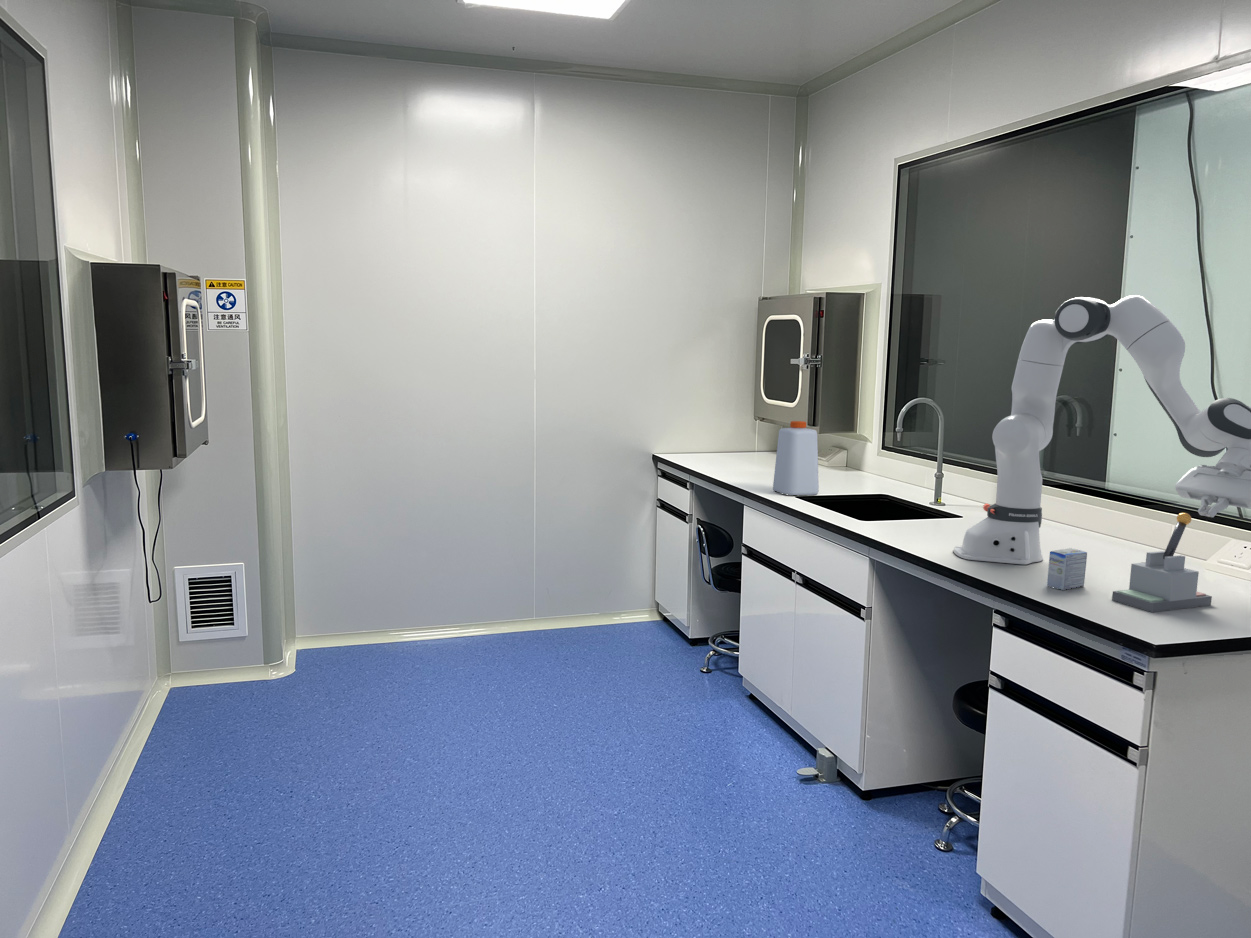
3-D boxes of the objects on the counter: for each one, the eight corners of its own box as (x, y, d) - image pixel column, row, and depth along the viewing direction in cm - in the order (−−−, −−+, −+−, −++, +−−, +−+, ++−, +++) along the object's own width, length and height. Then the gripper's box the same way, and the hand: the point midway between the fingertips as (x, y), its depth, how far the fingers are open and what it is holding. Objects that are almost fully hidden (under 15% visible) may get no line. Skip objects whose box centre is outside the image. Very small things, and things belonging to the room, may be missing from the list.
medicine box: (1067, 582, 213) (1070, 547, 212) (1084, 587, 209) (1087, 551, 208) (1046, 586, 210) (1049, 550, 208) (1063, 591, 206) (1066, 554, 205)
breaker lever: (1164, 561, 198) (1184, 514, 198) (1175, 564, 195) (1196, 516, 195) (1156, 557, 197) (1176, 509, 197) (1168, 559, 194) (1188, 511, 194)
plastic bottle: (787, 497, 334) (790, 423, 330) (768, 490, 348) (771, 420, 344) (822, 495, 339) (826, 422, 335) (802, 489, 353) (805, 419, 349)
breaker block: (1169, 593, 205) (1173, 547, 203) (1210, 605, 196) (1216, 556, 194) (1111, 599, 198) (1116, 552, 197) (1152, 612, 189) (1157, 562, 188)
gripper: (1190, 455, 209) (1156, 497, 207) (1280, 466, 190) (1244, 513, 188) (1201, 473, 211) (1168, 515, 209) (1291, 485, 192) (1256, 532, 190)
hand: (1204, 514), depth 198 cm, fingers closed
